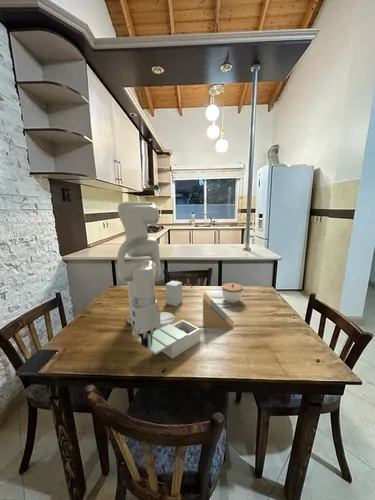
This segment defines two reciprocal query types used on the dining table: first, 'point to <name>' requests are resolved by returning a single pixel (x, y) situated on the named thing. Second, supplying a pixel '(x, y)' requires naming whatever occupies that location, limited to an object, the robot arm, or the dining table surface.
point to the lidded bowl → (232, 292)
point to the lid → (164, 338)
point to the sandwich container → (215, 315)
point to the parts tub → (187, 341)
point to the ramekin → (165, 319)
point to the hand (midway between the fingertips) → (147, 344)
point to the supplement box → (174, 293)
